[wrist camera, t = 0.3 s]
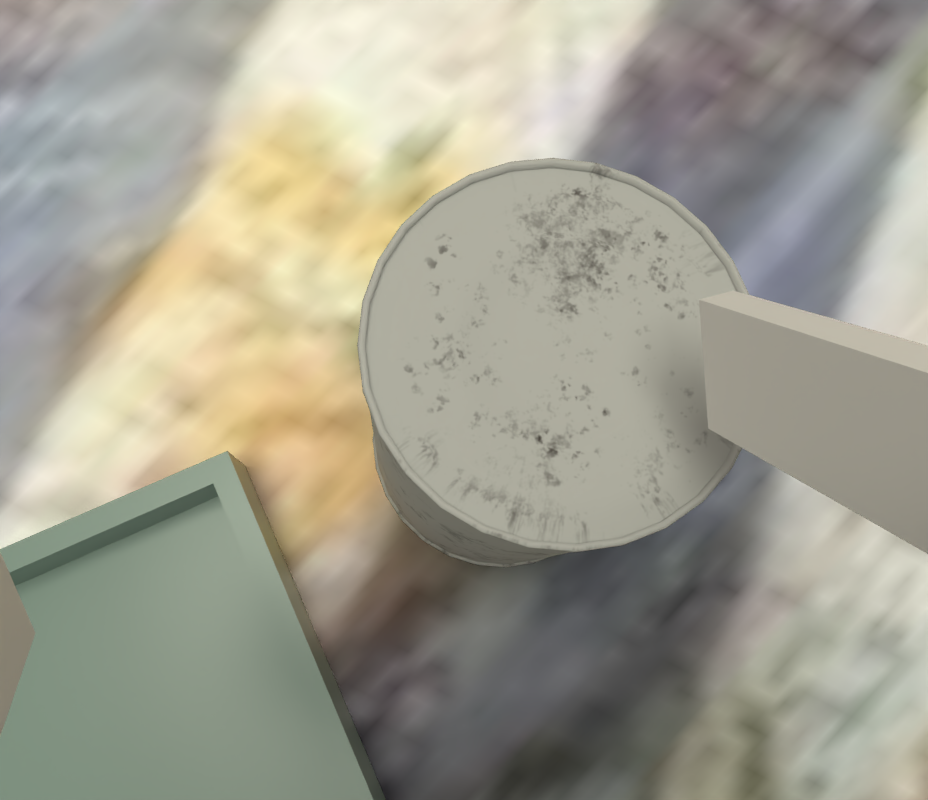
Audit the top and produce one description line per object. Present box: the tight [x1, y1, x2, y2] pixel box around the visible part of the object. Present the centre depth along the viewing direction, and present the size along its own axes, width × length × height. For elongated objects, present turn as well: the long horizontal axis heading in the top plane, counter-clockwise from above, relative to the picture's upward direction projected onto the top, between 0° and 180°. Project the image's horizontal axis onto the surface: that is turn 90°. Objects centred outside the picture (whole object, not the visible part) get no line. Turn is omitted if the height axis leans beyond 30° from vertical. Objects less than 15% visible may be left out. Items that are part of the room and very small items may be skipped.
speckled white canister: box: [358, 158, 749, 567], centre depth 25 cm, size 10×10×12 cm
